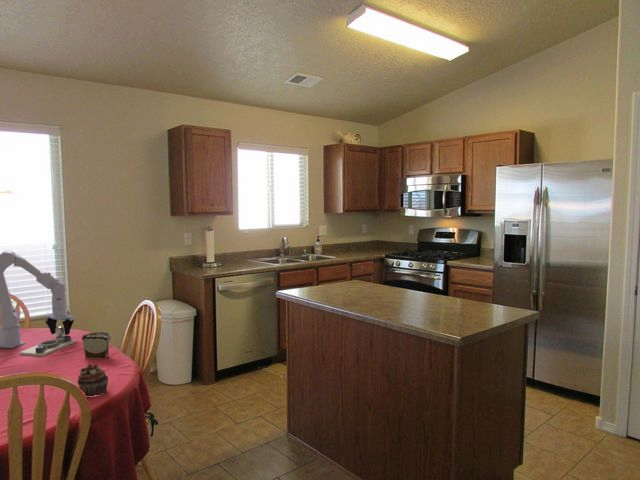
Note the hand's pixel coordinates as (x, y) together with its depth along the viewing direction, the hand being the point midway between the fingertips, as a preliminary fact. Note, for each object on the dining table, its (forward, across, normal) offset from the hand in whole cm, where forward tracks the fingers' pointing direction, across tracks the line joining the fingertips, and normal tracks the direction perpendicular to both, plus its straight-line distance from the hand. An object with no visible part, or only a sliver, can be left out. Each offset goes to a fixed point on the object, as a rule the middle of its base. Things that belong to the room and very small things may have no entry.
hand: (60, 334), depth 219 cm
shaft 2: (+2, -7, +7) cm, 10 cm away
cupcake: (+3, -58, +52) cm, 78 cm away
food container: (+3, -35, +18) cm, 39 cm away
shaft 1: (+2, -7, +20) cm, 21 cm away
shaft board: (+2, -5, +13) cm, 14 cm away
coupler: (+2, 0, 0) cm, 2 cm away
